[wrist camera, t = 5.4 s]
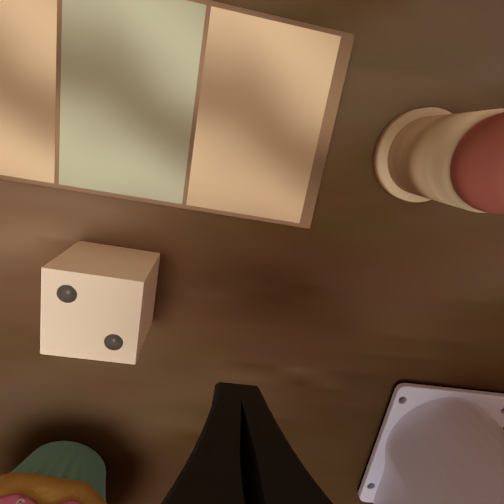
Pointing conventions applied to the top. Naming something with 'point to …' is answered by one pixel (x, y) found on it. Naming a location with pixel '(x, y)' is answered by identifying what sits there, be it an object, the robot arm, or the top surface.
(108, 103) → the board
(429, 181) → the pawn
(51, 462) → the cupcake
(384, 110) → the top surface
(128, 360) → the die
